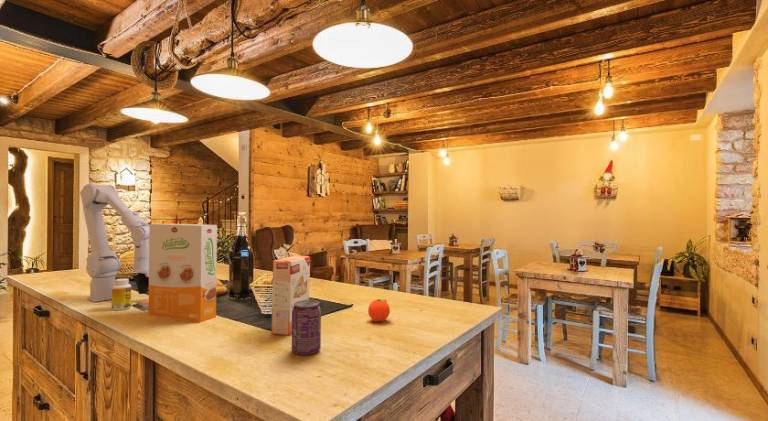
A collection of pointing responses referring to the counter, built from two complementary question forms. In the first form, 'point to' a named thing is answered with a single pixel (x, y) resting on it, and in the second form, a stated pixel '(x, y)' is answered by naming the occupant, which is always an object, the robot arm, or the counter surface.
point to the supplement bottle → (121, 294)
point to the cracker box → (288, 290)
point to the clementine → (379, 310)
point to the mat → (141, 307)
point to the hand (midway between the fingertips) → (142, 293)
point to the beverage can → (306, 327)
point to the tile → (143, 303)
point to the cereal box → (183, 271)
